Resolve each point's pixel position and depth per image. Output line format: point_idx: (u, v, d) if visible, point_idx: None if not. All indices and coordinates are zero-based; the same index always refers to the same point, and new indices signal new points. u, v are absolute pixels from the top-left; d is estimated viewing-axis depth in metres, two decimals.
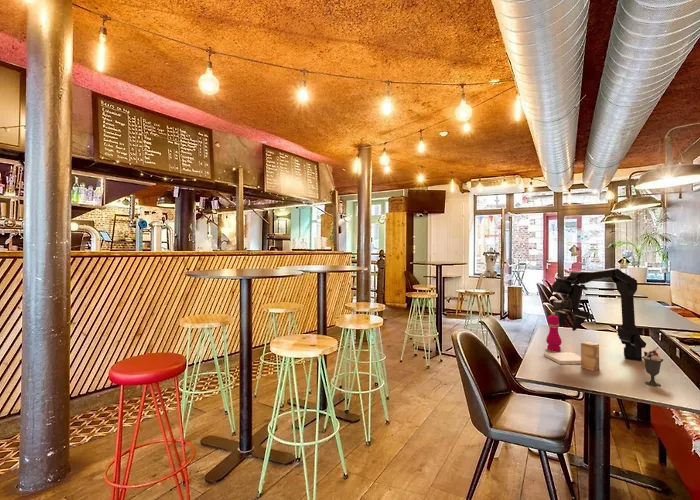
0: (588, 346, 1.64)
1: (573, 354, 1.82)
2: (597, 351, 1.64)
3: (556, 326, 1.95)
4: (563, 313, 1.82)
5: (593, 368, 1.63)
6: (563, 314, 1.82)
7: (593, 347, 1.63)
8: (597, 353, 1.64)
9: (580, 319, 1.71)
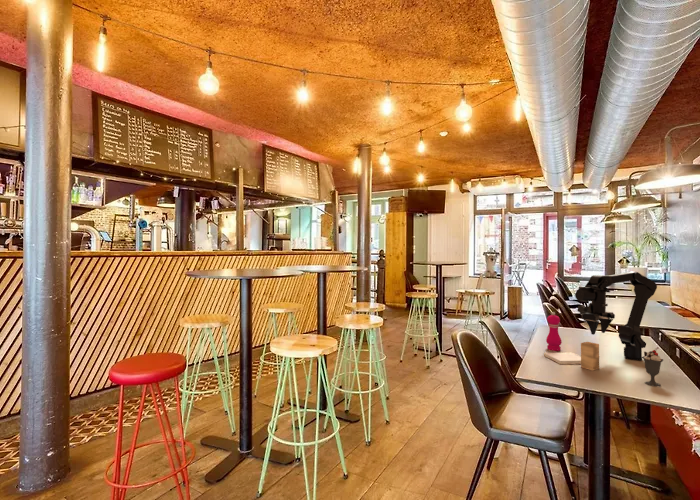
0: (588, 346, 1.64)
1: (573, 354, 1.82)
2: (597, 351, 1.64)
3: (556, 326, 1.95)
4: (604, 319, 1.80)
5: (593, 368, 1.63)
6: (604, 320, 1.80)
7: (593, 347, 1.63)
8: (597, 353, 1.64)
9: (593, 322, 1.74)
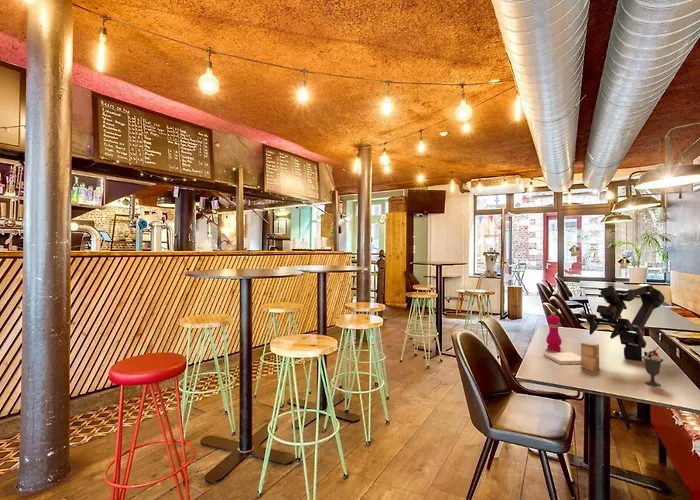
0: (588, 346, 1.64)
1: (573, 354, 1.82)
2: (597, 351, 1.64)
3: (556, 326, 1.95)
4: (595, 323, 1.76)
5: (593, 368, 1.63)
6: (595, 324, 1.76)
7: (593, 347, 1.63)
8: (597, 353, 1.64)
9: (620, 330, 1.66)
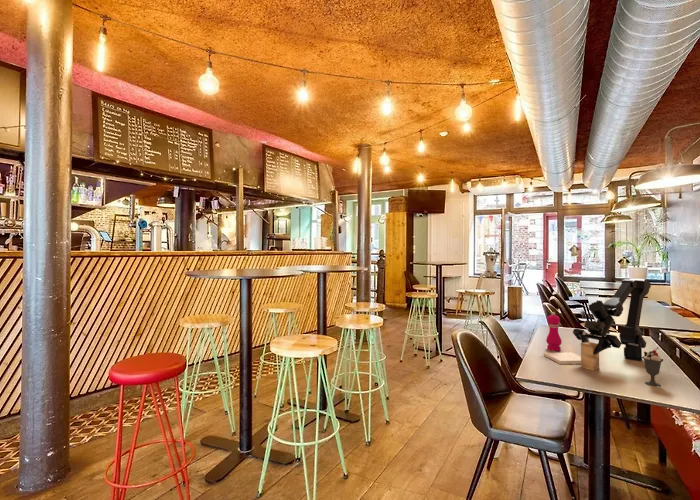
0: (588, 346, 1.64)
1: (573, 354, 1.82)
2: None
3: (556, 326, 1.95)
4: (587, 339, 1.71)
5: (593, 368, 1.63)
6: (587, 340, 1.70)
7: (593, 347, 1.63)
8: (597, 353, 1.64)
9: (604, 345, 1.64)
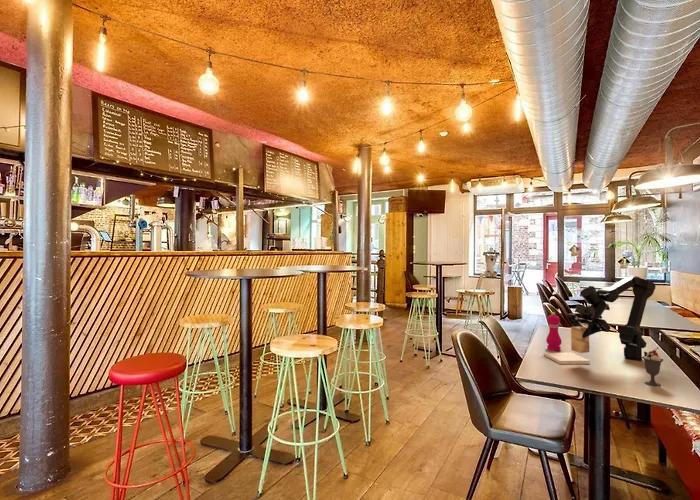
0: (577, 330, 1.69)
1: (573, 354, 1.82)
2: None
3: (556, 326, 1.95)
4: (579, 324, 1.75)
5: (582, 351, 1.67)
6: (579, 325, 1.74)
7: (582, 331, 1.68)
8: (587, 337, 1.68)
9: (594, 329, 1.67)
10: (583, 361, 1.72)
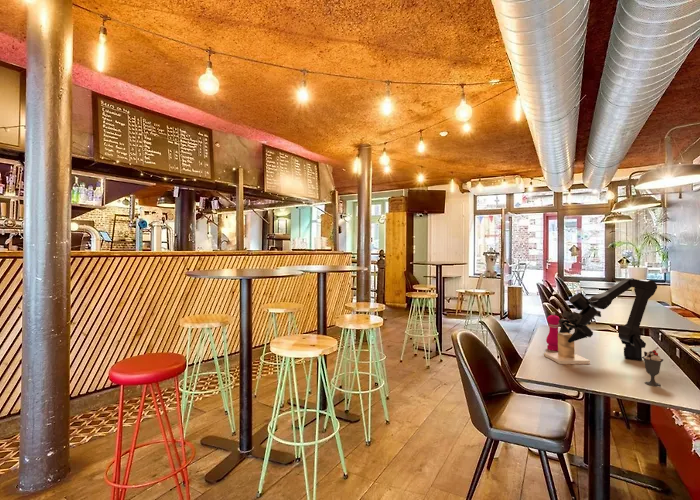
0: (562, 336, 1.78)
1: None
2: None
3: (556, 326, 1.95)
4: (566, 328, 1.84)
5: (565, 356, 1.76)
6: (566, 329, 1.84)
7: (566, 337, 1.76)
8: (571, 343, 1.77)
9: (580, 335, 1.73)
10: (583, 361, 1.72)
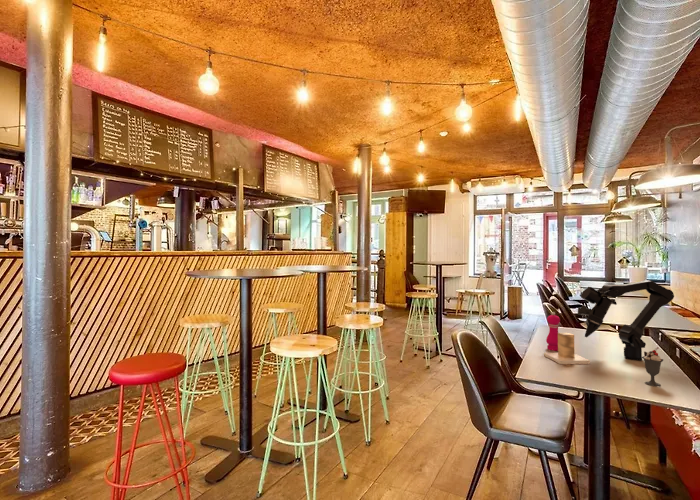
0: (562, 336, 1.78)
1: None
2: (571, 341, 1.77)
3: (556, 326, 1.95)
4: None
5: (565, 356, 1.76)
6: None
7: (566, 337, 1.76)
8: (571, 343, 1.77)
9: (594, 325, 1.75)
10: (583, 361, 1.72)
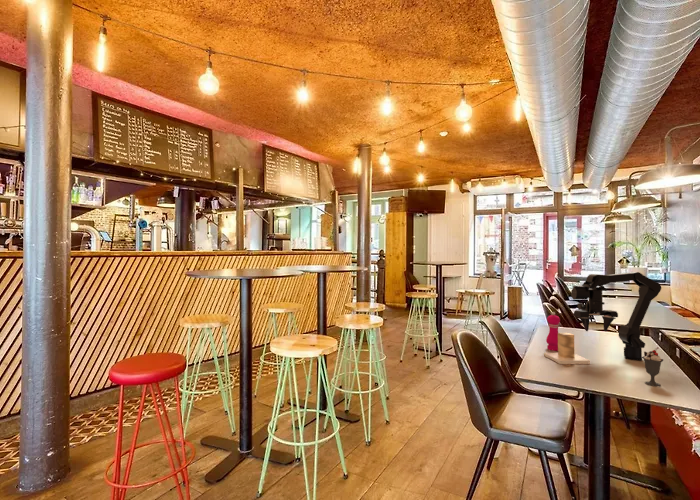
0: (562, 336, 1.78)
1: None
2: (571, 341, 1.77)
3: (556, 326, 1.95)
4: (606, 317, 1.82)
5: (565, 356, 1.76)
6: (606, 318, 1.82)
7: (566, 337, 1.76)
8: (571, 343, 1.77)
9: None
10: (583, 361, 1.72)
